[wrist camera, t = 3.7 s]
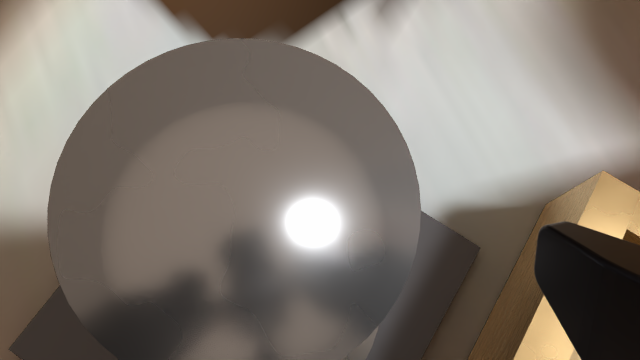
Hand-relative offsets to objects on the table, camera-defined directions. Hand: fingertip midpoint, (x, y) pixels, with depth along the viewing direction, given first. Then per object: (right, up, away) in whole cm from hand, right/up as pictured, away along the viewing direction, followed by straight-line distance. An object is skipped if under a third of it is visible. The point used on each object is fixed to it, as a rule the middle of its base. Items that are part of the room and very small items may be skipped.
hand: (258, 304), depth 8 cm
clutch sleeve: (-1, -2, +8) cm, 8 cm away
